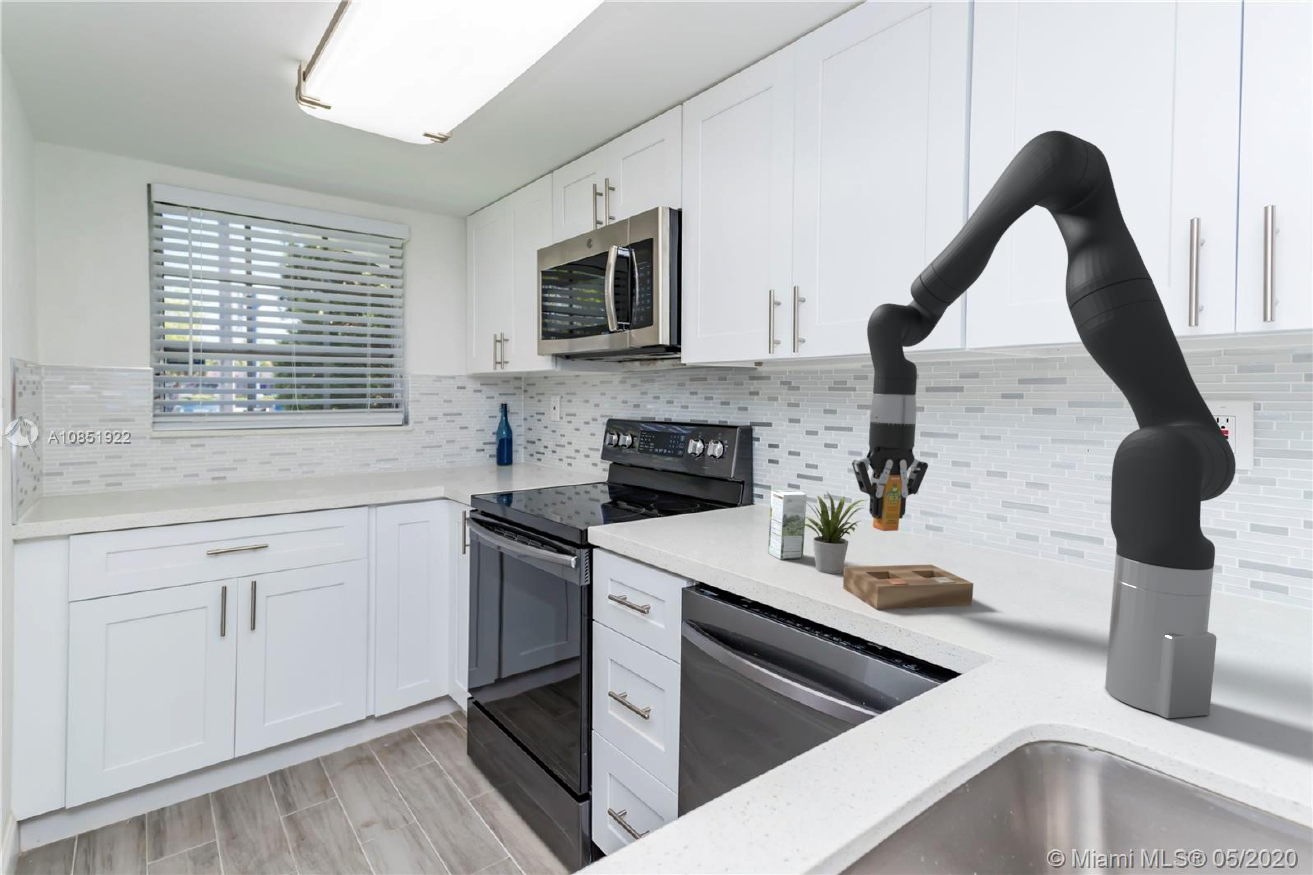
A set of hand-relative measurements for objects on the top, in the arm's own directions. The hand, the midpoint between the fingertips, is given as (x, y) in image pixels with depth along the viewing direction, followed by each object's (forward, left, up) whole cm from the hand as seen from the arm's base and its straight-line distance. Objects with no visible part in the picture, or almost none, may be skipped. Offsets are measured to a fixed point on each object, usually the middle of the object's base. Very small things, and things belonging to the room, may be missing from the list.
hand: (887, 517), depth 114 cm
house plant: (+17, +1, -15) cm, 23 cm away
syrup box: (+29, +7, -15) cm, 33 cm away
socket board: (0, -4, -14) cm, 15 cm away
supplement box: (0, 0, -2) cm, 2 cm away
